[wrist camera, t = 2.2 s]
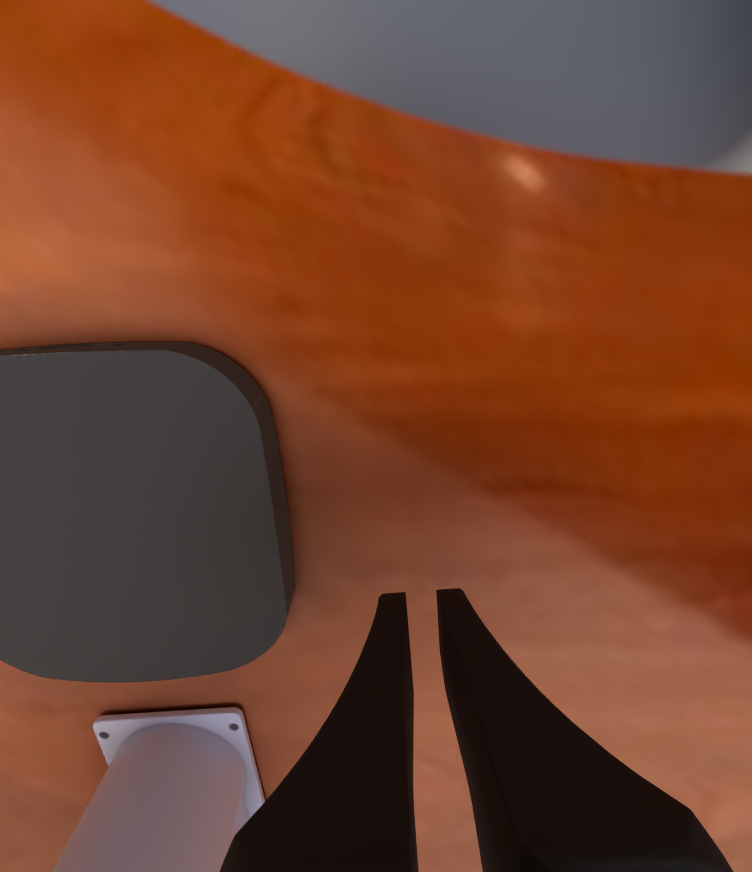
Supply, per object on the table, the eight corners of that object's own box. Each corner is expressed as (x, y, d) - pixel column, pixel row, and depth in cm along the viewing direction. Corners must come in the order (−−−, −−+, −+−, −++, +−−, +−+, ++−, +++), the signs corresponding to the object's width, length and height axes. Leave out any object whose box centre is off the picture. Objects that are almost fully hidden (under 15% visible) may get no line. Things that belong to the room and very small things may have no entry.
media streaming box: (306, 631, 23) (295, 681, 20) (17, 642, 23) (-33, 693, 20) (267, 332, 18) (247, 344, 15) (-98, 351, 18) (-185, 366, 15)
